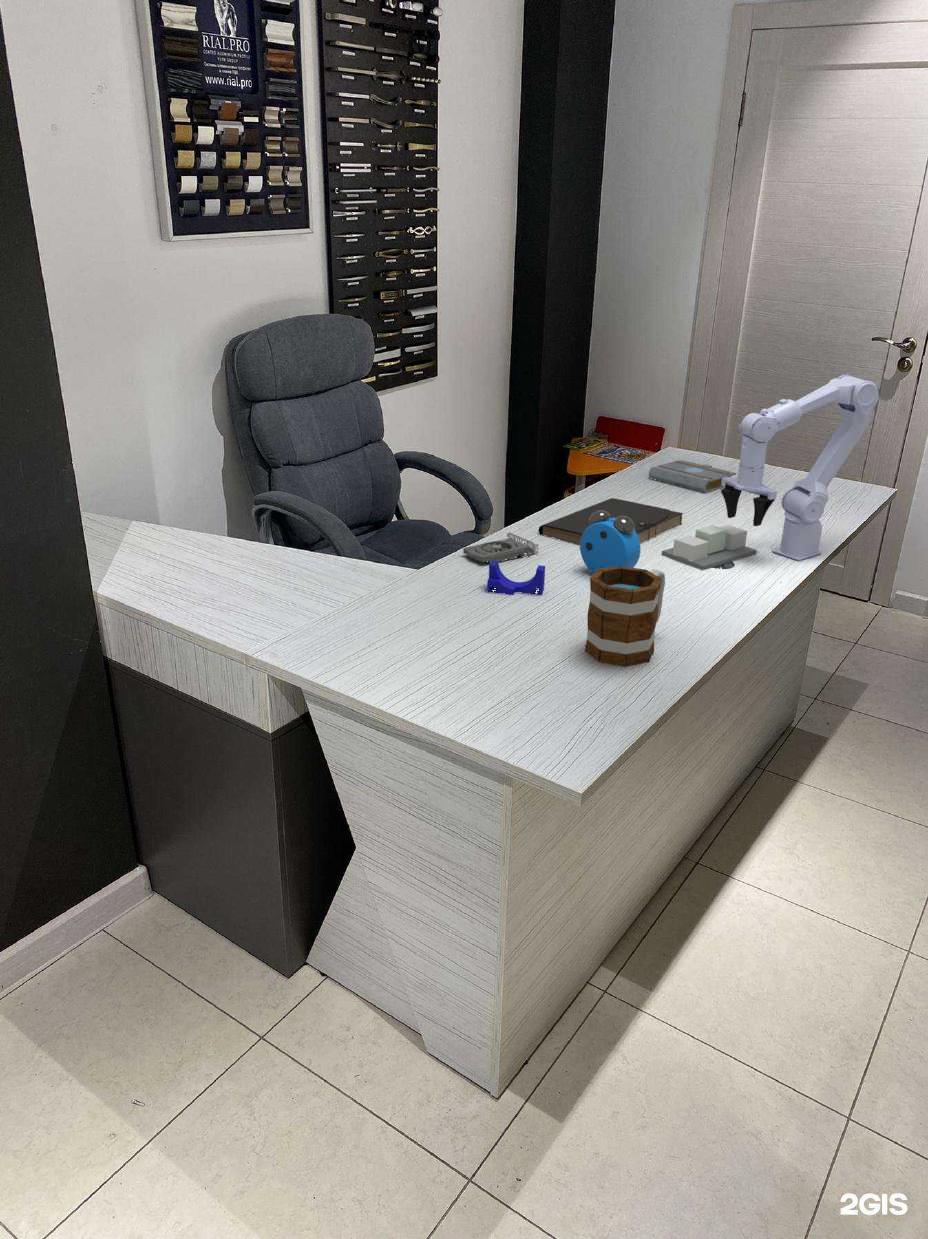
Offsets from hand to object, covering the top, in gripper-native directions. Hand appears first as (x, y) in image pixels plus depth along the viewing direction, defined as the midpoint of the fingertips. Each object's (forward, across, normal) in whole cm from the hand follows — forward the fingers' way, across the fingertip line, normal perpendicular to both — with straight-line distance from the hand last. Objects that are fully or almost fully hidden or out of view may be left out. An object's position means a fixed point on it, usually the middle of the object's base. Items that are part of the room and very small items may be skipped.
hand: (744, 521), depth 229 cm
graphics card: (+10, -36, -47) cm, 60 cm away
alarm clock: (+10, -10, -35) cm, 38 cm away
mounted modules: (+9, -6, -4) cm, 12 cm away
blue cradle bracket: (+10, -15, -59) cm, 61 cm away
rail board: (+9, -6, -4) cm, 12 cm away
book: (+10, -53, +44) cm, 70 cm away
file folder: (+10, -34, -10) cm, 37 cm away
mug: (+10, +20, -59) cm, 63 cm away
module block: (+8, -6, -4) cm, 11 cm away
